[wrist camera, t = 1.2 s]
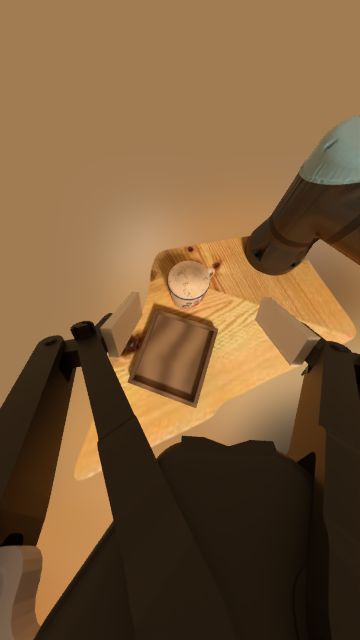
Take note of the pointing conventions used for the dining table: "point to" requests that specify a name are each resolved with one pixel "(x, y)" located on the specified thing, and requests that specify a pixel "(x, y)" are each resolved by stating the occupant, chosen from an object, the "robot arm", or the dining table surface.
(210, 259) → the dining table surface
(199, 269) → the teacup with lid
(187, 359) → the walnut tray
